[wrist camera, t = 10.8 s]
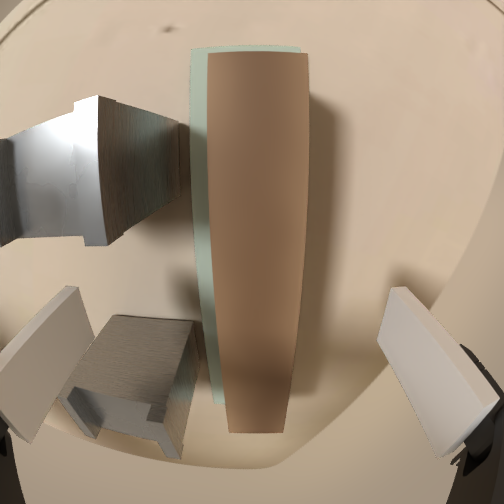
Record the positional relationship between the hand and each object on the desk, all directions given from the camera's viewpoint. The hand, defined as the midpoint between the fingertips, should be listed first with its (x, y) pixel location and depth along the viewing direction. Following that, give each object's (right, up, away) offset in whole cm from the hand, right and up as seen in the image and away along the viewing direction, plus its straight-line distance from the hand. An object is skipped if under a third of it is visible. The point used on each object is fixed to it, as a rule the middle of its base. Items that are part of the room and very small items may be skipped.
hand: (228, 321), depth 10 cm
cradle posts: (-6, +2, +5) cm, 8 cm away
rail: (+1, +2, +5) cm, 5 cm away
